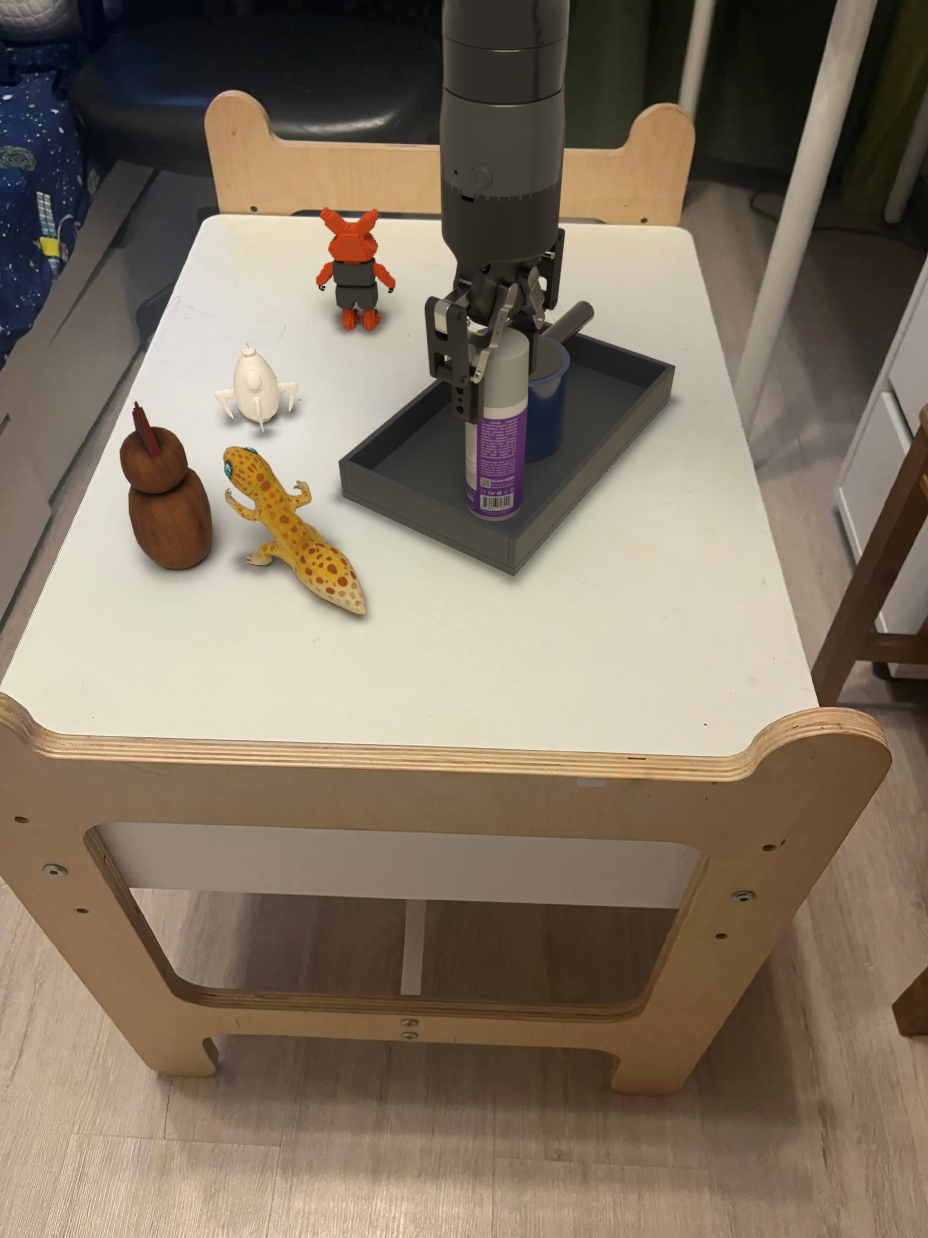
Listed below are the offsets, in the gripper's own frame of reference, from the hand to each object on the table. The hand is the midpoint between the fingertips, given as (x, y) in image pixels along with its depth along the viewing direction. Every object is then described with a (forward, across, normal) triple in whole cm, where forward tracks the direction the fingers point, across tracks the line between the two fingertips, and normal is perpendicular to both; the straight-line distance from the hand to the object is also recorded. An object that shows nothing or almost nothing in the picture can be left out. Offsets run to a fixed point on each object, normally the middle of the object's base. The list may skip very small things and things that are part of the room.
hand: (495, 393), depth 68 cm
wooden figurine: (+12, +18, -18) cm, 28 cm away
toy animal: (+12, -18, -28) cm, 35 cm away
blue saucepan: (+11, -12, -3) cm, 17 cm away
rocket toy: (+12, +1, -25) cm, 28 cm away
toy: (+12, +14, -7) cm, 20 cm away
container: (+11, 0, 0) cm, 11 cm away
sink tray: (+12, -8, -3) cm, 15 cm away
